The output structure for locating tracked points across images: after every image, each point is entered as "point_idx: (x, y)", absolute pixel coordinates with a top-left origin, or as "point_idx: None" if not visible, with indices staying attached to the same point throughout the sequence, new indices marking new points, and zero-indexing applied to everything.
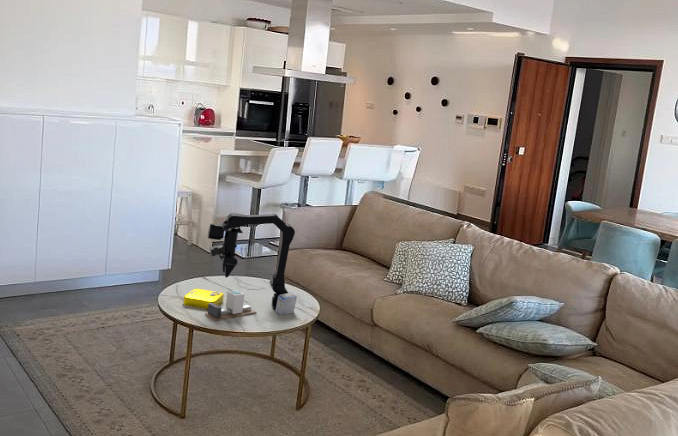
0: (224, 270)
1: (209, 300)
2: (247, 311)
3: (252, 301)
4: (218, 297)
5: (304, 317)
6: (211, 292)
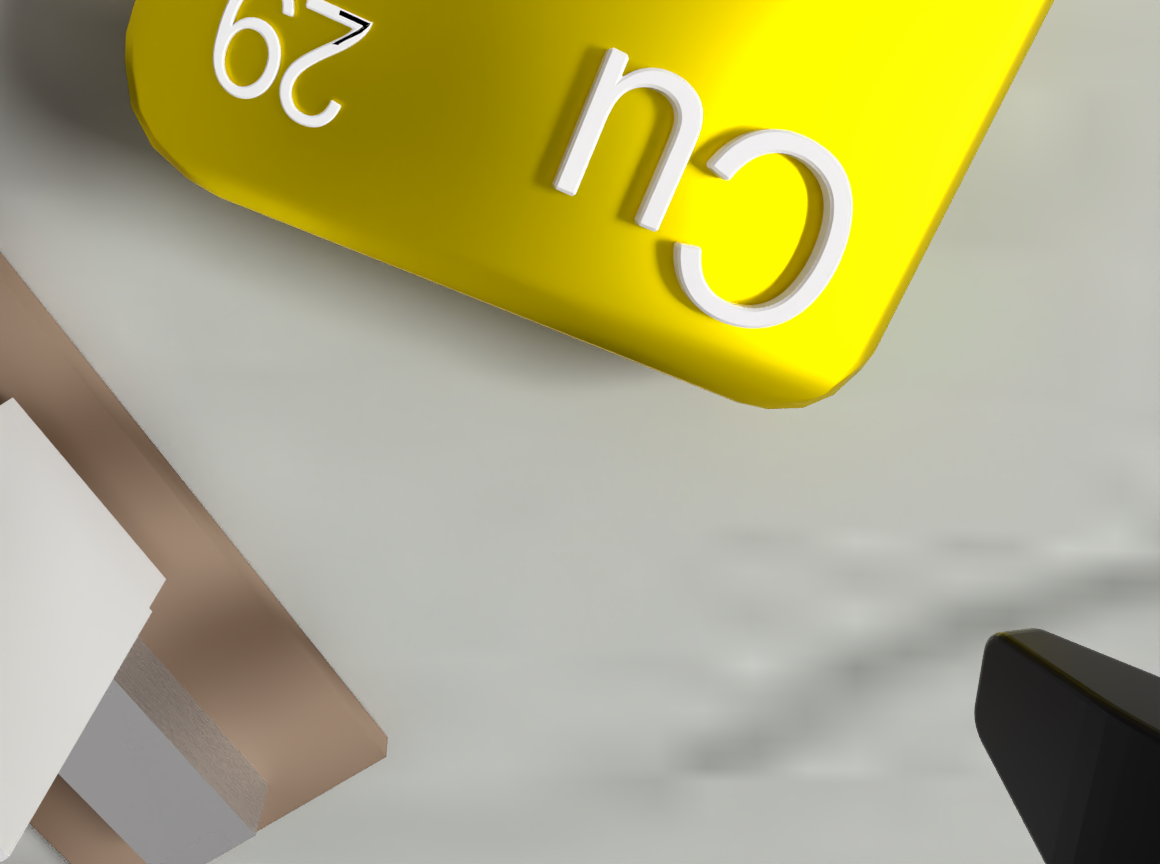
0: (1028, 745)
1: (174, 16)
2: None
3: (752, 835)
4: (476, 277)
5: None
6: (844, 124)
